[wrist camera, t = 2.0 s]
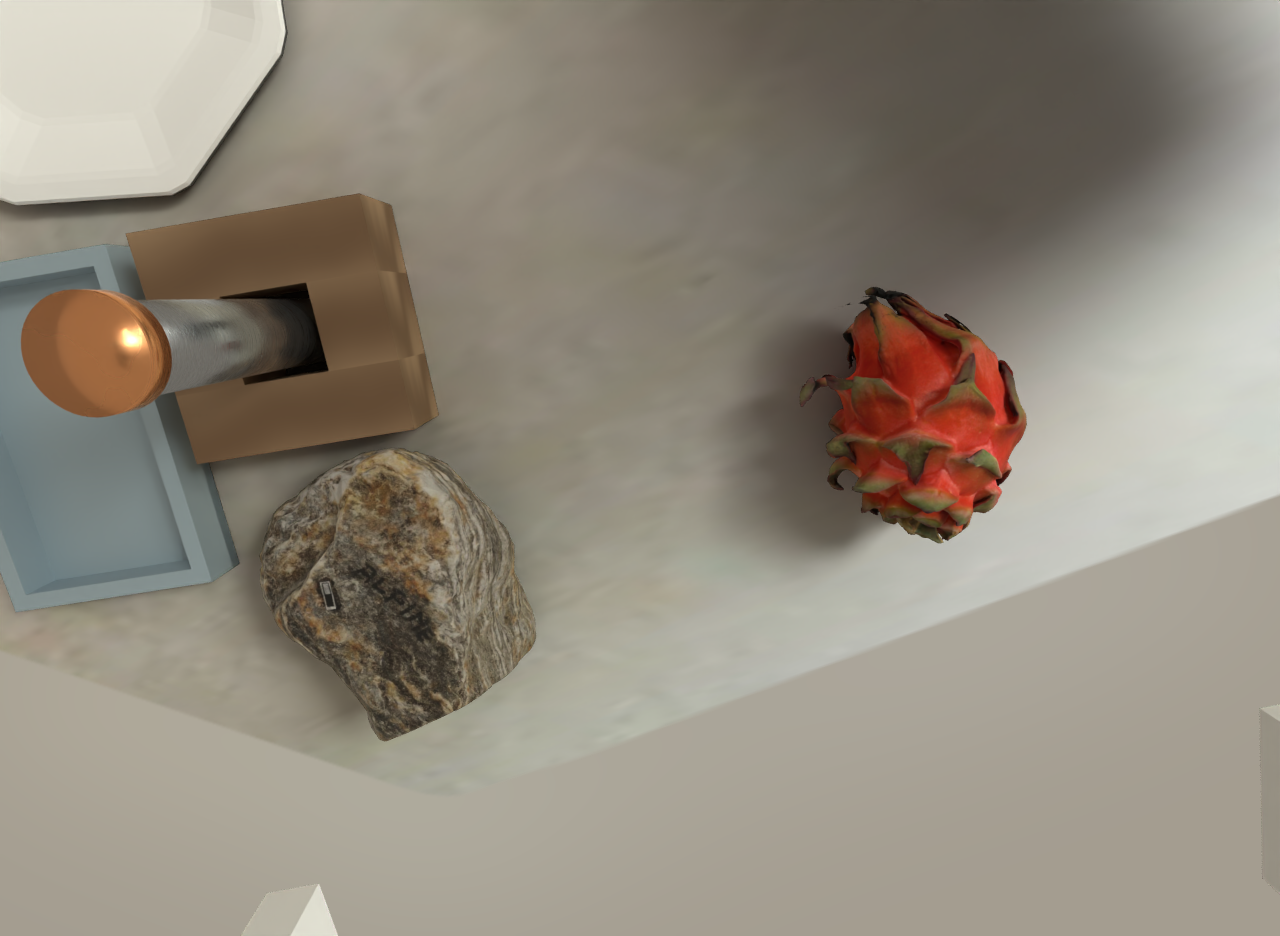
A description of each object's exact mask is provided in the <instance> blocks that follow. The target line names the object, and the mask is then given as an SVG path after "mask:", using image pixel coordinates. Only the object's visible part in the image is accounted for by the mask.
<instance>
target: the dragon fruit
mask: <svg viewBox="0 0 1280 936" xmlns="http://www.w3.org/2000/svg"><path fill="white" fill-rule="evenodd" d="M865 293H866V295H870V296H865V297H870V298H869V299H867V300H864V301H862V302H860V303H861V304H865V305H866V306H867V308H866V309H865V310H863V311H862V312H860V313H859V315H858V316H856V318H855V321H854V323H853V324H852V325H851V326H850V327H849V328H848V329H847V330H846V332H845V333H844V334H843V337H844V339H845V340H846V341H847V342H848V343H849V351H848V355H847V360H848V362H849V369H850V368H851V367H852V363H853V359H852V356H853V358H855V360H856V370H855V372H854V373H853V374H852V375H851V376H850V377H848V378H846V379H842V378H837V377H835V376H833V375H829V374H828V375H824V376H823V377H822V378H820V379H818V380H816V381H814V377H812V378H809V379H808V381H807V382H806V384H804V386H802V390H801V393H800V405H801V407H802V406H804V404H805V403H806V402H807V401H808V400H809V399H810V398H811V397H812V394H813V393H814V392H815V390H817V389H818V388H820V387H825V386H829V387H830V388H831V389H834V390H835V391H836V392H837V393H838V394H839V396H840V398H841V401H842V404H843V408H844V409H840V410H838V412H837V413H836V414H835V415H834V416H833V417H832V419H831V421H830V422H829V427H830V428H831V430H832V431H834V432H835V433H836V434H837V436H836V437H835V438H833V439H832V440H831V441H830V442H828V443H827V444H826V448H827V452H828V454H829V455H830V456H831V457H832V458H838V459H837V460H836V461H835V462H834V463H833V464H832V466H831V468H830V471H829V476H828V479H827V481H828V482H829V484H830V485H831V486H832V487H833V488H834V489H837V490H844V488H843V487H842V486H841V485H840V484H838V483H837V478H838V476H839V474H840V473H841V472H842V471H844V470H846V469H848V470H849V471H851V472H853V473H854V474H855V475H856V476H858V477H859V479H858V480H857V482H856V484H855V487H852V490H853V491H856V492H860V493H863V494H862V508H861V513H865V512H867V511H870V512H871V513H873V514H875V515H878V512H880V513H881V516H882V519H883V521H885V522H887V523H891V524H896V523H897V522H898V523H899V524H900V525H901V527H903V528H904V529H905V530H906V531H907V533H908V534H911V535H915V534H917V535H919V536H921V537H923V538H929V539H931V540H933V541H935V542H937V543H943V541H942V540H943V539H945V540H947V541H948V540H949V539H951V538H952V537H954V536H956V535H957V534H958V533H960V532H961V531H962V530H964V529H965V528H966V527H967V526H968V525H969V523H970V518H971V516H972V513H973V512H980V513H986V512H987V511H989V510H991V509H992V508H993V507H994V506H995V505H996V503H997V502H998V498H999V497H1000V495H1001V493H1002V491H1001V489H1000V488H999V487H998V486H999V485H1000V484H1002V483H1003V482H1004V480H1005V479H1006V478H1007V477H1008V476H1009V474H1010V472H1011V470H1012V469H1011V467H1010V465H1009V463H1008V459H1009V456H1010V454H1011V452H1012V450H1013V449H1014V447H1015V446H1016V445H1017V443H1018V442H1019V441H1020V440H1021V438H1022V436H1023V434H1024V431H1025V428H1026V425H1027V423H1026V414H1025V411H1024V410H1023V408H1022V406H1021V405H1020V402H1019V398H1018V395H1017V393H1016V389H1015V382H1014V378H1013V372H1012V370H1011V369H1010V367H1009V366H1008V365H1007V363H1006V362H1005V361H1003V360H999V361H998V359H997V356H996V354H995V353H994V352H992V351H991V350H990V349H989V348H988V347H987V346H986V345H985V344H984V342H983V341H982V340H981V339H980V338H979V337H978V336H976V335H974V334H972V333H971V331H970V330H969V329H968V328H967V327H966V326H964V325H963V324H962V323H961V322H959V321H958V320H956V319H955V318H953V317H952V316H950V315H948V314H945V315H944V316H945V317H946V318H947V319H948V320H945V319H943V318H941V317H939V316H937V315H935V314H933V313H931V312H929V311H927V310H926V309H925V308H924V307H923V306H922V305H920V304H919V303H918V302H917V301H916V300H914V299H913V298H912V297H910V296H909V295H907V294H904V293H900V292H896V291H887V292H885V291H884V290H883V289H881V288H878V287H871V288H868V289H867V290H866V291H865ZM876 296H877V297H880V298H884V299H886V300H887V302H888V303H889V304H890V305H891V306H892V308H893V309H894V310H895V311H897V314H896V313H895V312H894V311H893V310H892V309H891V308H889V307H887V306H885V305H883V304H881V303H880V302H879V301H878V300H877V298H876ZM846 305H850V303H849V304H846ZM960 323H961V324H962V325H963V326H964V327H965V328H964V327H963V326H961V325H960ZM938 533H939V534H940V535H941V536H942V539H941V538H940V537H939V535H938Z"/></svg>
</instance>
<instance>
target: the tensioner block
mask: <svg viewBox="0 0 1280 936" xmlns="http://www.w3.org/2000/svg"><path fill="white" fill-rule="evenodd" d="M126 237H127V240H128V243H129V246H130V250H131V253H132V256H133V259H134V263H135V266H136V269H137V272H138V275H139V279H140V282H141V285H142V288H143V292H144V295H145V298H146V300H185V299H266V297H268V296H274V295H280V294H286V293H292V292H298V291H304V290H308V292H309V296H310V300H311V304H312V308H313V312H314V315H315V319H316V323H317V327H318V331H319V335H320V339H321V342H322V346H323V350H324V354H325V358H326V362H327V366H328V369H323V370H317V371H311V372H305V373H299V374H293V375H287V372H286V369H282V370H278V371H273V372H268V373H263V374H258V375H253V376H249V377H244V378H239V379H234V380H229V381H224V382H220V383H215V384H210V385H205V386H200V387H195V388H191V389H186V390H181V391H176V392H175V395H176V398H177V401H178V405H179V408H180V411H181V414H182V418H183V421H184V424H185V427H186V430H187V434H188V437H189V440H190V443H191V447H192V450H193V453H194V456H195V460H196V463H197V464H202V463H208V462H215V461H221V460H227V459H233V458H239V457H246V456H252V455H258V454H264V453H271V452H277V451H283V450H289V449H295V448H302V447H308V446H314V445H320V444H327V443H333V442H339V441H345V440H352V439H358V438H364V437H370V436H376V435H383V434H389V433H395V432H401V431H408V430H414V429H416V428H418V427H420V426H421V425H423V424H425V423H426V422H428V421H430V420H431V419H433V418H435V417H436V416H438V415H439V413H438V409H437V405H436V400H435V396H434V391H433V387H432V383H431V378H430V374H429V369H428V365H427V361H426V356H425V352H424V347H423V343H422V338H421V334H420V330H419V325H418V321H417V316H416V312H415V308H414V303H413V299H412V294H411V290H410V286H409V281H408V277H407V272H406V268H405V264H404V259H403V255H402V250H401V246H400V242H399V237H398V233H397V228H396V224H395V220H394V215H393V211H392V206H391V205H389V204H386V203H384V202H381V201H378V200H376V199H373V198H370V197H368V196H365V195H362V194H353V195H347V196H341V197H336V198H330V199H324V200H318V201H312V202H307V203H301V204H295V205H289V206H283V207H278V208H272V209H266V210H260V211H254V212H249V213H243V214H237V215H231V216H225V217H220V218H214V219H208V220H202V221H196V222H190V223H185V224H179V225H173V226H167V227H161V228H156V229H150V230H144V231H138V232H132V233H127V234H126Z"/></svg>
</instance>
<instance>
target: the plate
mask: <svg viewBox="0 0 1280 936" xmlns="http://www.w3.org/2000/svg"><path fill="white" fill-rule="evenodd" d="M286 38H287V26H286V20H285V14H284V7H283V1H282V0H0V200H2V201H5V202H8V203H11V204H14V205H34V204H49V203H64V202H79V201H94V200H109V199H124V198H139V197H154V196H169V195H176V194H178V193H180V192H181V191H183V190H185V189H187V188H189V187H190V186H192V185H193V184H194V182H195V181H196V179H197V178H198V176H199V175H200V173H201V172H202V171H203V169H204V168H205V166H206V165H207V163H208V162H209V161H210V159H211V158H212V156H213V155H214V153H215V152H216V151H217V149H218V148H219V146H220V145H221V143H222V142H223V140H224V139H225V138H226V136H227V135H228V133H229V132H230V130H231V129H232V128H233V126H234V125H235V123H236V122H237V120H238V119H239V118H240V116H241V115H242V113H243V112H244V110H245V109H246V107H247V106H248V105H249V103H250V102H251V100H252V99H253V97H254V96H255V95H256V93H257V92H258V90H259V89H260V87H261V86H262V85H263V83H264V82H265V80H266V79H267V77H268V76H269V74H270V73H271V72H272V70H273V69H274V67H275V66H276V64H277V63H278V62H279V60H280V59H281V57H282V56H283V52H284V47H285V42H286Z"/></svg>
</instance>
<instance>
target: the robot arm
mask: <svg viewBox="0 0 1280 936" xmlns="http://www.w3.org/2000/svg"><path fill="white" fill-rule="evenodd" d="M1260 761H1261V762H1260V767H1261V824H1262V825H1261V827H1262V878H1263V879H1264V880H1265V881H1266V882H1267V883H1268V884H1269V885H1270V886H1271V887H1272V888H1274V889H1275V890H1276V891H1277V892H1278V893H1279V894H1280V705H1275V706H1269V707H1264V708H1260ZM241 936H338V934H337V931H336V929H335V926H334V923H333V921H332V918H331V915H330V912H329V910H328V907H327V904H326V902H325V899H324V896H323V894H322V891H321V888H320V885H319V884H313V885H308V886H302V887H297V888H292V889H286V890H281V891H275V892H270V893H267V894H266V895H265V897H264V899H263V900H262V902H261V903H260V905H259V907H258V908H257V910H256V911H255V913H254V915H253V917H252V918H251V920H250V921H249V923H248V924H247V926H246V928H245V929H244V931H243V933H242V934H241Z"/></svg>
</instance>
